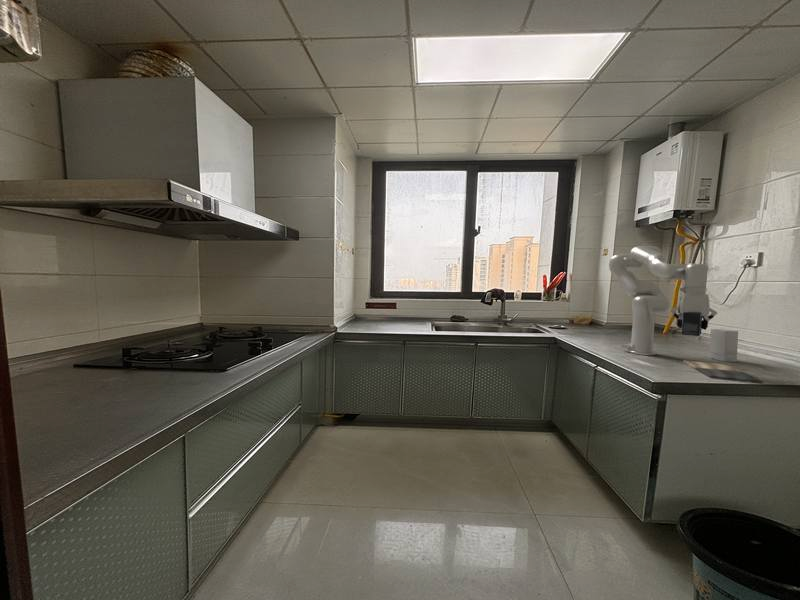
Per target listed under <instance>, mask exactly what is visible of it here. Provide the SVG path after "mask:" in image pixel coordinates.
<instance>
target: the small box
mask: <svg viewBox="0 0 800 600" xmlns="http://www.w3.org/2000/svg"><path fill="white" fill-rule="evenodd" d="M702 320H703V318H702V316H701V313H700V312H683V317H682V328H681V335H686V336H694V337H700V336H701V335H702V329H701V326H702Z"/></svg>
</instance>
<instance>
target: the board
mask: <svg viewBox="0 0 800 600" xmlns="http://www.w3.org/2000/svg"><path fill="white" fill-rule="evenodd" d="M683 362H684V363H683ZM682 363H683V364H684V365H687V366H688V365H689V367H690V366H691V367H690V368H692V367H693V368H692V369H694V370H696V371H697V370H698V373H701V374H702V375H705V376H707V377H708V378H710V379H719V380H726V379H727V380H728V381H736V380H739V381H738V382H745V381H752V382H751V383H755V382H763V380H762V379H759V378H757V377H755V376H753V375H750V374H748V373H746V372H744V371H742V370H739V369H737V368H735V367H733V366H731V365H728V364H725V363H715V362H707V361H706V362H705V361H704V362H703V361H693V360H685V359H684V360H682ZM727 380H726V381H727Z"/></svg>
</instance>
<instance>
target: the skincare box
mask: <svg viewBox="0 0 800 600" xmlns="http://www.w3.org/2000/svg"><path fill="white" fill-rule="evenodd" d="M709 337H710V338H709V359H712V358H713V359H712V360H716V361H721V362H725V363H726V362H727V363H737V362H738V348H739V347H738V343H739V330H732V329H725V328H711V329H710V336H709Z"/></svg>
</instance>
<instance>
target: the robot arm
mask: <svg viewBox="0 0 800 600" xmlns="http://www.w3.org/2000/svg"><path fill="white" fill-rule="evenodd" d="M665 260H666V256H665V255H664V254H663V253H662V249H660V247H658V246H656V245H655V246H654V245H637V246H634V247H632V249H631V250H630V251H629V253H618V254H615V255H613V256H611V258H610V260H609V262H608V267H609V271H610V274H612V276H613V277H614V279H615V280H617V282H618V283H619V285H620V286H621V288H622V289H623V291H624V292H625V294H626V295H627V296H628V297H630V298H632V300H631V309H632V325H631V326H632V327H631V338H630V339H631V341H630V342H629V343H627V344H625V343H620V348H624V349H626V351H627V352H628V353H630V354H631V353H632V354H635V355H640V356H655V355H657V352H656V351H654V350H653V347H654V346H653V345H654V333H655V318H654V316H653V315H652V314H661V313H666V312H667V311H668V310H669V312H670V313H671V314H672V316H673V317H674V318H675V319H676V326H677V328H679V329H682V317H683V312H700V313H701V316H702V326H701V330H705V331H706V330H707V328H708V326H709V322H710V320H712V319H713V318H714V317H715V316H716V315H717V314H718V312H717V311H716V310H714V309H713V308H711V306H710V296H709V294H706V293H707V284H708V283H707V282H708V270H709V269H708V265H707V264H705V263H689V264H687V263H686V264H684V263H682V264H681V263H668V262H666V261H665ZM643 267H647V268H648V269H649V271H650V273H651V274H653V275H655V276H657V277H659V279H660V278H661V279H663V280H670V281H671V280H672V281H674V280H677V281H678V280H679V281H681V280H682V281H684V283H683V287H682V288H681V287H680V288H679V291H680V292H682V293H680V294H681V295H680V297H679V302H678V306H675V307H673V308H671V309H670V307H671V305H670V301H669V299H668V297H667V296H666V295H665V293H664V292H663V291H662V289H661V288H660V287H659V286H658V285H657V284H656V282H653V281H649V280H648V281H647V280H639V279H638V278H637V276H636V275H635V274H634V273H633V272H632V271H630V270H629V269H633V270H635V269H640V268H643ZM676 311H677V313H678V314H677V313H676Z"/></svg>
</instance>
